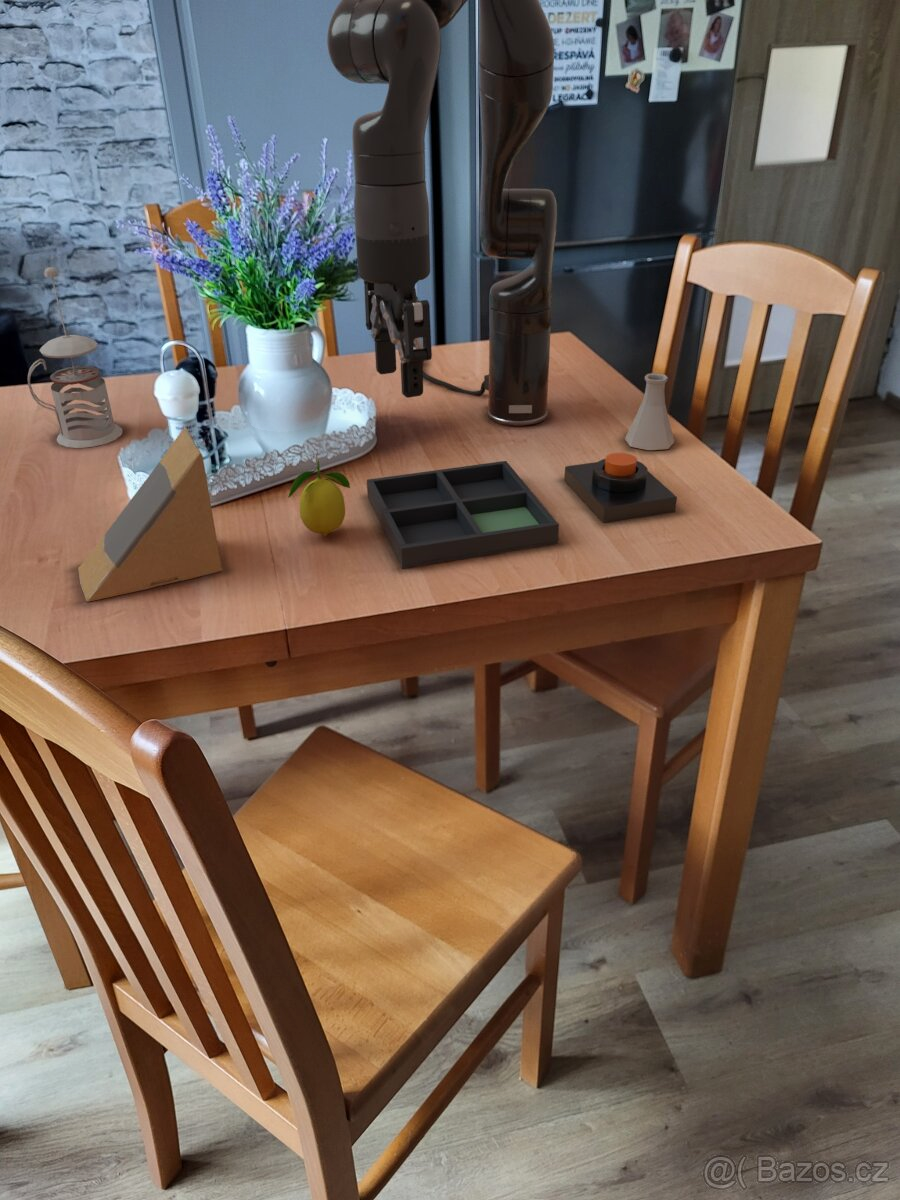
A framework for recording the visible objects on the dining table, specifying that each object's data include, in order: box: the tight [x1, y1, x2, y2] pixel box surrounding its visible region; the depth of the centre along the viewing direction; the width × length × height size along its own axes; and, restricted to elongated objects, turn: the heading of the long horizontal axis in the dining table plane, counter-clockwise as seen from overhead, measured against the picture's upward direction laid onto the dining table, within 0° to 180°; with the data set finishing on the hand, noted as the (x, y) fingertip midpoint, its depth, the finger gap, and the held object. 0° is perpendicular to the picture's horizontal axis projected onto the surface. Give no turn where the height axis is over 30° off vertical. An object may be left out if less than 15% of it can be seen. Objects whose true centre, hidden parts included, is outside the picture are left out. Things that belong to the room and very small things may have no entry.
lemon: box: [287, 459, 351, 537], centre depth 113 cm, size 7×6×10 cm
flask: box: [624, 372, 675, 451], centre depth 136 cm, size 7×7×10 cm
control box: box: [563, 458, 678, 524], centre depth 122 cm, size 13×10×4 cm
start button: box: [604, 452, 638, 476], centre depth 121 cm, size 4×4×2 cm
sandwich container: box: [77, 426, 223, 603], centre depth 105 cm, size 9×15×15 cm, turn 115°
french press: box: [27, 266, 124, 449], centre depth 137 cm, size 10×12×25 cm
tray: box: [366, 460, 560, 570], centre depth 118 cm, size 19×19×3 cm
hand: (399, 383), depth 104 cm, fingers open, 8 cm apart
